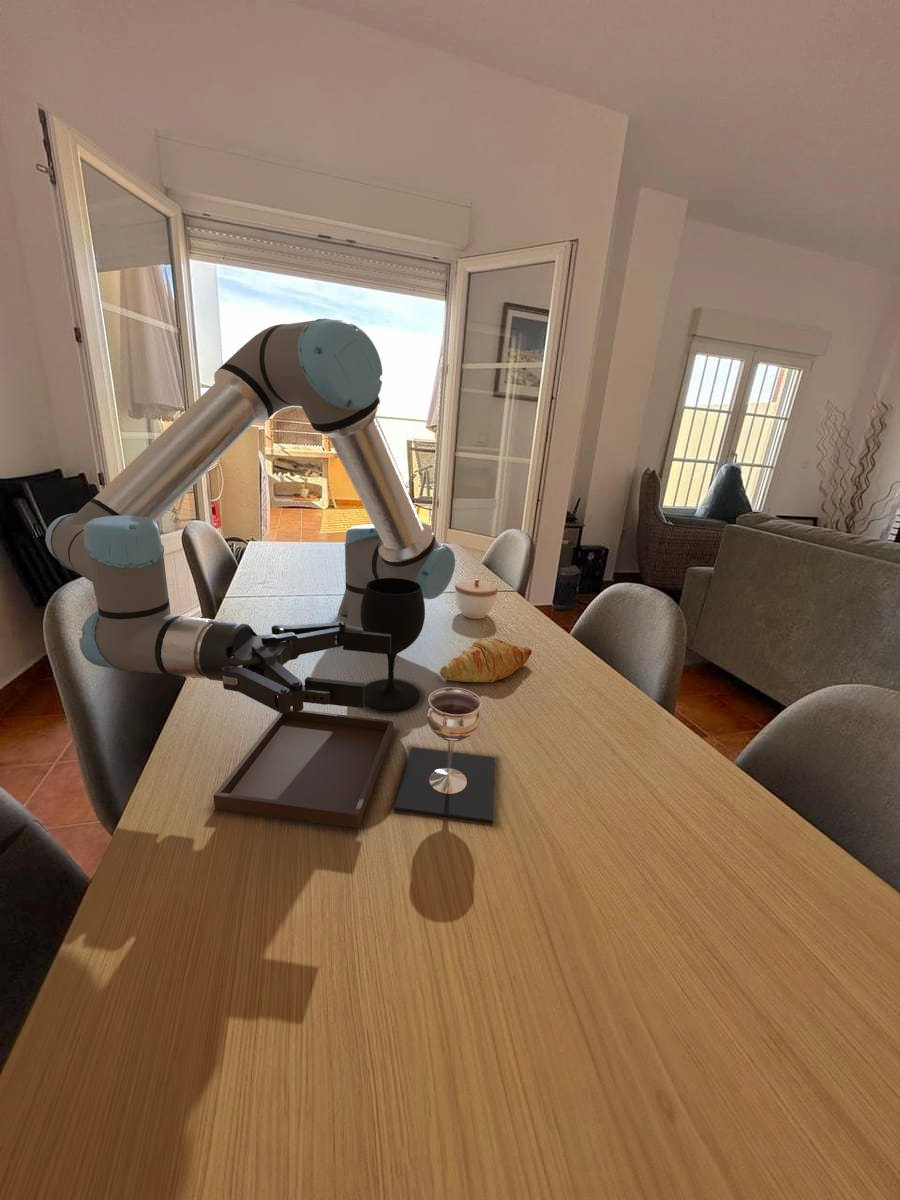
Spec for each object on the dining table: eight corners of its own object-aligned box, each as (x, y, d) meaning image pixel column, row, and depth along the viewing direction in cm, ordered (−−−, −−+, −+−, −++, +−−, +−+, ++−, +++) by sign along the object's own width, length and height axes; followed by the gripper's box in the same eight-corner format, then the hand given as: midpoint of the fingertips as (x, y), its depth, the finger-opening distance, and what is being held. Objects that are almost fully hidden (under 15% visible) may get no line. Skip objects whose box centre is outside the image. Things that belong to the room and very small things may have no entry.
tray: (284, 718, 75) (283, 707, 74) (393, 732, 73) (393, 720, 73) (214, 809, 56) (213, 795, 56) (358, 828, 55) (358, 814, 55)
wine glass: (412, 716, 78) (418, 599, 71) (350, 707, 79) (351, 591, 72) (425, 685, 87) (432, 580, 81) (370, 677, 89) (372, 573, 82)
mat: (411, 749, 70) (411, 747, 70) (493, 759, 69) (494, 757, 69) (393, 809, 58) (394, 807, 58) (492, 822, 58) (492, 820, 57)
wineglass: (412, 786, 62) (417, 704, 58) (437, 757, 68) (443, 681, 64) (459, 806, 59) (468, 722, 55) (481, 774, 65) (490, 696, 61)
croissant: (447, 706, 88) (461, 681, 82) (424, 662, 93) (435, 636, 88) (534, 679, 99) (551, 656, 93) (509, 642, 104) (524, 618, 99)
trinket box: (496, 623, 119) (500, 587, 116) (452, 620, 119) (455, 584, 116) (492, 608, 129) (496, 575, 126) (453, 605, 129) (455, 572, 126)
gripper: (261, 637, 74) (398, 651, 72) (149, 732, 50) (348, 757, 49) (258, 590, 71) (399, 604, 70) (139, 668, 48) (348, 692, 46)
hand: (379, 667), depth 59 cm, fingers open, 13 cm apart
